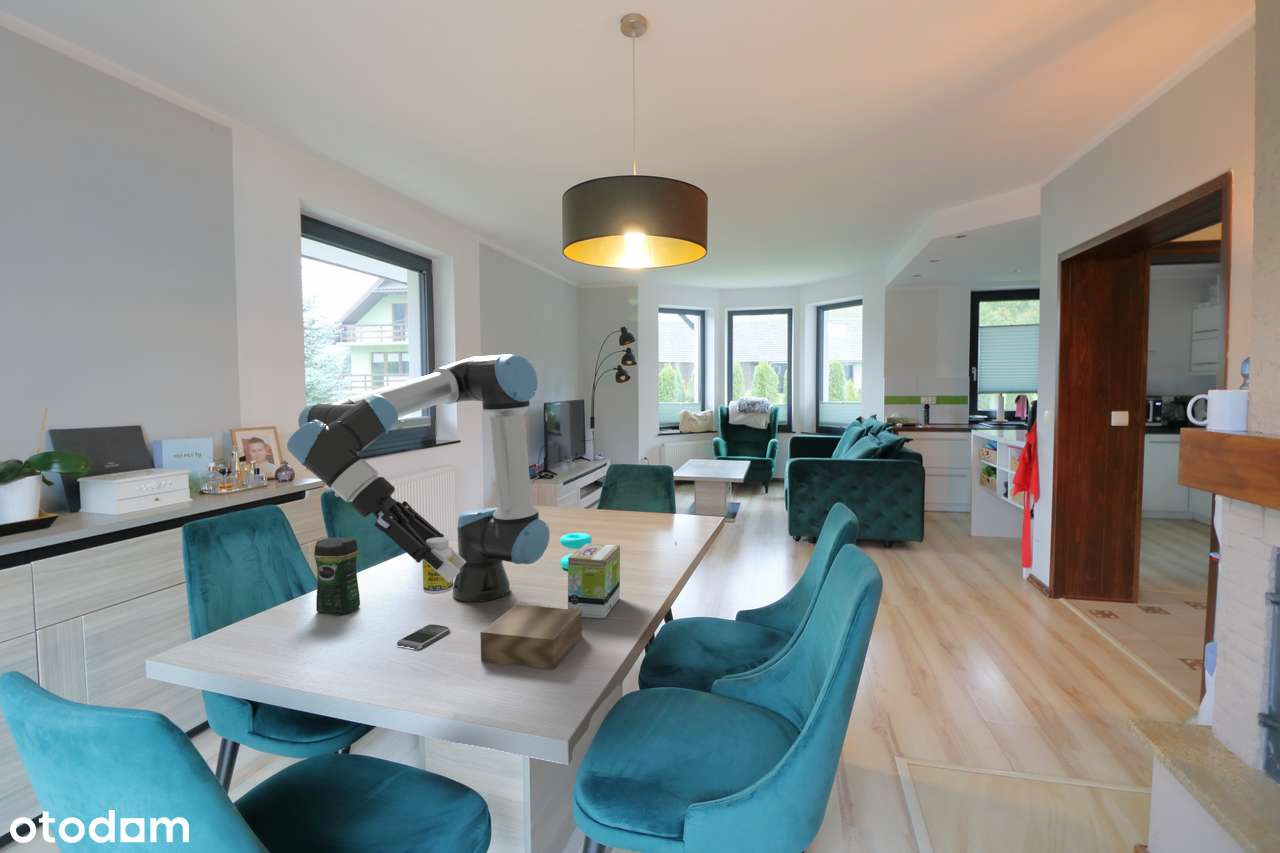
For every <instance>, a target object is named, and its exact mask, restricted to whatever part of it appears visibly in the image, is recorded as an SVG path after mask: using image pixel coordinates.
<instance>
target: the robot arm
mask: <svg viewBox="0 0 1280 853" xmlns="http://www.w3.org/2000/svg"><path fill="white" fill-rule="evenodd" d="M538 383H539V382H538V376H537V372H536V370H535V367H534V366H533V364H532V363H531V362H530V361H529V360H528V359H527V358H526V357H524V356H522V355H519V354H508V353H504V354H503V353H502V354H495V355H477V356H471V357H468V358H465V359H461V360H459V361H455V362H452V363H449V364H447V365H443V366H440V367H437V368H435V369H434V370H433V371H432V372H431V373H430V374H427V375H424V376H420V377H416V378H413V379H409V380H406V381H403V382H399V383H396V384H392V385H388V386H385V387H381V388H379V389H374V390H371V391H367V392H364V393H360V394H357V395H352V396H350V397H345V398H343V399H339V400H336V401H332V402H328V403H316V404H310V405H309V406H308V405H307V407H304V409H302V411H301V412H300V414H299V415H298V419H297V420H298V422H297V423H298V427H299V428H297V430H296V431H294V432H293V434H291V436H290V437H289V438H288V440H287V444H286V448H287V450H288V452H289V453H290V454H291V455H292V457H293V458H295V459H296V460H297V462H299V463H300V464H301V465H302V466H304V467H305V468H306V469H308V471H309V472H311V474H313V475H315V476H316V477H317V478H318V479H320V481H321V482H323V484H325V485H326V486H327V487H328V488H330V489H331V490H332V492H334V496H335V497H336V498H341V499H343V501H345V503H349V502H351V503H350V507H351V508H352V509H353V510H354V511H355V512H356V513H358V514H359V515H360V516H361V517H362V518H368V517H370V516H371V515H374V517H375V518H376V519H377V521H375V522H374V524H373V525H374V527H376V528H377V529H378V530H380V531H381V532H383V533H384V534H385V535H386V536H388V537H389V538H390V539H391V540H392V541H393V542H394V543H395V544H397V545H398V546H399V547H400V548H401V549H402V550H403V551H404V552H405V553H407V554H408V555H409V556H410V557H411V558H412V559H413V560H414V561H415V562H416V563H418V564H419V563H421V561H423V560H424V561H425V562H426V563H427V564H428V565H429V566H431V567H432V568H433V569H434V570H435V571H436V572H437V573H439V574H440V575H441V576H442V577H443V578H444V579H445V580H446V581H448V582H449V583H450V582H451V581H452V580H453V588H452V597H453V598H454V599H455V600H457V601H461V602H468V603H469V602H471V603H477V602H487V601H492V600H493V601H494V600H496V599H499V598H503V597H505V596H506V595H507V594H508V593H510V590H511V589H510V588H511V587H510V580H509V577H508V574H507V572H506V569H505V566H504V562H508V563H514V564H516V565H532V564H534V563H536V562H538V561H539V560H540V559H541V558H542V557H543V555H544V554H545V551H546V550H547V548H548V545H549V543H550V528H549V526H548V524H546V522H545V521H544V520H542V519H540V515H539V508H538V507H537V506H535V505H534V504H533V502H532V501H533V500H532V492H531V481H530V480H531V479H530V478H531V477H530V467H529V457H528V456H529V455H528V443H527V442H528V441H527V431H526V418H525V415H526V414H525V413H526V412H527V410H528V409H530V404H531V403H530V400H532V399H533V398H534V397H535V395H536V391H537V390H538ZM471 401H473V402H482V410H483V411H484V412H485V413H486V414H487V415H489V418H490V419H489V420H490V430H491V444H492V454H493V462H494V463H493V464H494V474H495V475H494V476H495V486H496V487H495V488H496V495H497V496H496V497H497V506H498V507H488V508H487V507H486V508H479V509H474V510H473V509H472V510H468V511H464V512H462V513H460V515H459V516H458V519H457V521H458V522H457V527H456V529H457V546H458V547H457V549H458V552H456V551H455V550H454V549H453V548H451V547H450V546H449V545H448V547H447V549H450V550H451V551H452V555H453V564H452V563H451V562H450V561H448V560H447V559H446V558H445V557H444V556H443V555H442V554H440V553H439V552H438V551H437V550H436V549H435V548H434V549H433V550H432V549H431V547H430V546H429V545H428V544H427V543H426V540H427V539H430V538H435V537H445V534H444V533H441V531H439V530H438V529H436V527H434V526H433V525H432V524H431V523H429V522H428V521H427V520H426V519H425V518H424V517H423V516H422V515H420V514H419V513H418V512H417V511H416V510H415V509H413V507H412V506H411V505H410V504H409V502H407V501H405V500H404V501H402V502H401V501H397V500H396V499H395V498H392V495H393V494H394V493H395V491H396V488H395V486H394V485H393V484H392V483H391V482H390V481H388V480H387V479H386V478H385V477H383V476H379V472H378V471H377V470H376V469H375V467H373V466H372V465H370V463H368V462H367V461H366V460H364V458H362V457H361V456H360V455H359V454H361V452H363V451H364V450H365V449H367V448H368V447H370V445H372V444H373V443H375V442H376V441H378V440H379V439H380V438H381V437H383V436H384V435H387V434H388V433H389V431H390V430H391V429H392V428H394V426H396V425H397V424H398V422H399V418H401V417H404V416H407V415H410V414H413V413H417V412H418V411H422V410H425V409H428V408H431V407H434V406H436V405H440V404H444V405H452V404H456V403H459V402H471ZM431 550H432V551H431Z"/></svg>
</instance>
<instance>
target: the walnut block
mask: <svg viewBox="0 0 1280 853" xmlns="http://www.w3.org/2000/svg"><path fill="white" fill-rule="evenodd" d="M582 621H583V617H582V610H573V609H568V608H561V607H549V606H547V607H546V606H538V605H527V604H526V605H525V604H517V603H516V604H515V605H514V606H512V607H511V608H509V609H508V610H507V611H506V612H505V613H503V614H501V616H499V617H498V618H497V619H496V620H494V621H493V622H492V623H490V624H489V625H487V626H486V627H485V628H484V629H483V630H481V631H480V661H481V662H487V663H494V664H495V663H498V664H505V665H511V666H512V665H513V666H521V667H528V668H529V667H530V668H537V669H545V670H546V669H547V670H555V669H556V668H557V667H558V666H559V664H560V663H561V662H562V661H563V660H564V659H565V657H566V656H567V655H568V654H569V652H570V651H572V649H573V648H574V646H576V644H578V642H579V641H580V639H581V638H582V637H583V624H582Z"/></svg>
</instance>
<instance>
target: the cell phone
mask: <svg viewBox="0 0 1280 853" xmlns="http://www.w3.org/2000/svg"><path fill="white" fill-rule="evenodd" d="M450 631H451V627H449V626H443V625H440V624H428V625H426V626H425V625H424V626H423V627H421V628H420V629H418V630H416V631H413V632H412V633H410V634H408V635H406V636H404V637H403V638H401V639H399V640H398V641H397V643H396V646H397V645H398V646H404V647H410V648H414V649H419V648H421V647H423V646H425V645H426V646H428V645H430V644H431V643H430V642H432V641H433V642H435V641H437V640H439V639H440V638H442V637H444V636H446V635H447V634H449V633H450ZM448 632H449V633H448ZM446 633H447V634H446ZM443 635H444V636H443ZM441 636H442V637H441ZM436 639H437V640H436ZM434 640H435V641H434ZM433 642H432V643H433ZM429 643H430V644H429ZM427 644H428V645H427ZM398 646H397V647H398ZM426 646H425V647H426ZM423 648H424V647H423ZM421 649H422V648H421ZM419 650H420V649H419Z"/></svg>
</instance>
